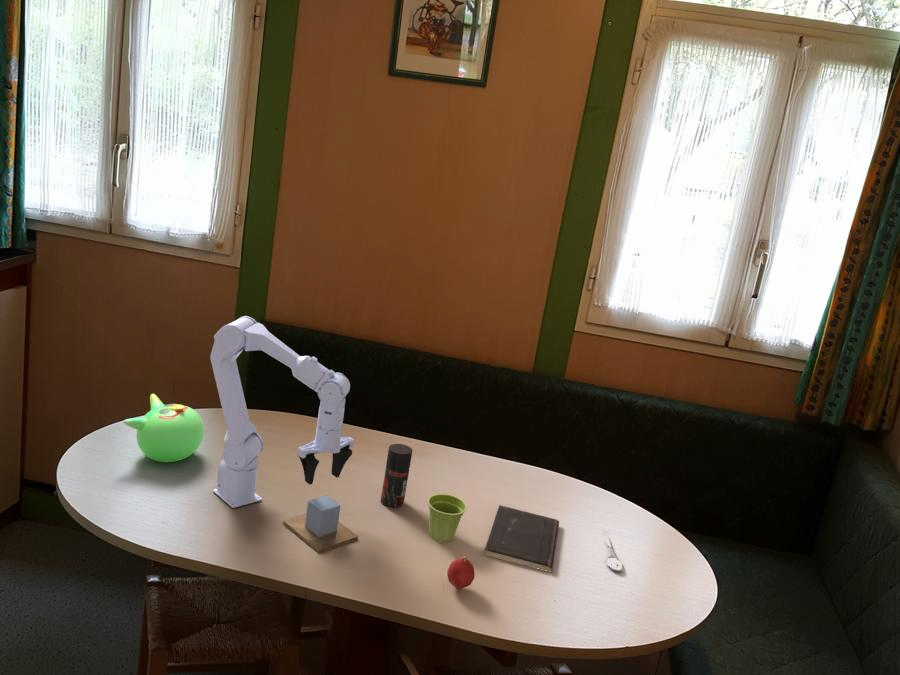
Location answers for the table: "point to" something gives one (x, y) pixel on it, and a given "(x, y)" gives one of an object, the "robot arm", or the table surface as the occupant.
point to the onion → (461, 573)
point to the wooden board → (322, 542)
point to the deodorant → (396, 475)
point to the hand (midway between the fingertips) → (322, 479)
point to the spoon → (613, 557)
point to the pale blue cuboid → (322, 516)
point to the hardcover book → (523, 538)
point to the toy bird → (168, 431)
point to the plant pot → (444, 516)
